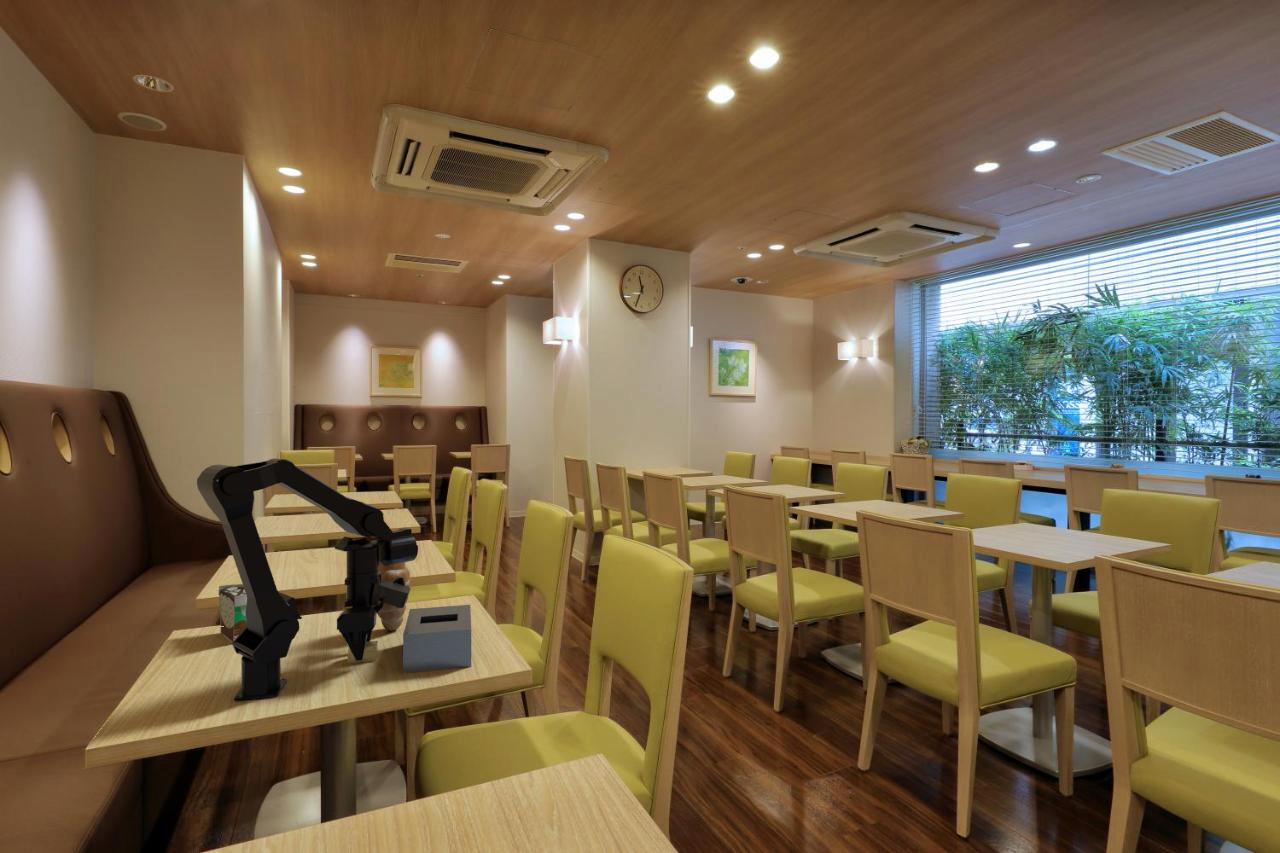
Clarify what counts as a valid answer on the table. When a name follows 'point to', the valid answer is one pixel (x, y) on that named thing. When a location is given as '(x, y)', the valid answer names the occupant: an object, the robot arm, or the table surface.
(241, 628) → the food container
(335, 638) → the table surface
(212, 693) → the table surface
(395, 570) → the tan ribbed tall piece
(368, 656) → the tan brushed block
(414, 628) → the box
